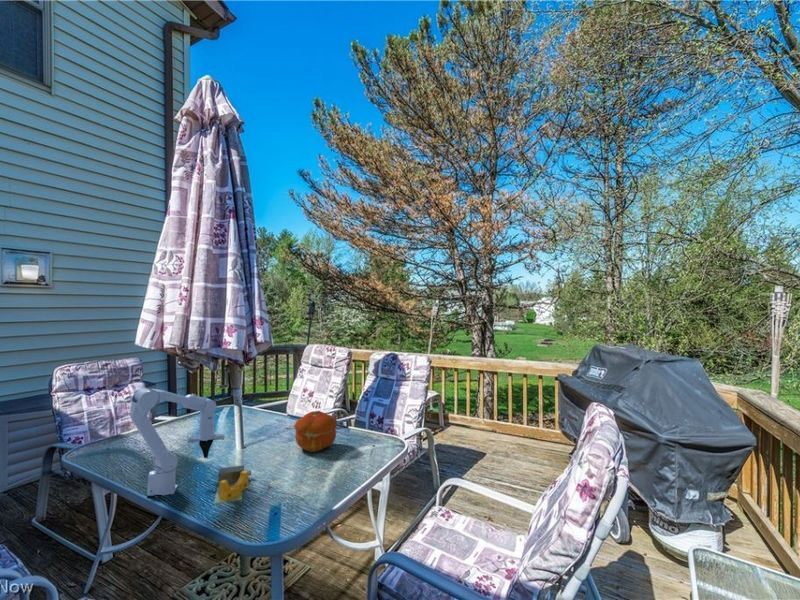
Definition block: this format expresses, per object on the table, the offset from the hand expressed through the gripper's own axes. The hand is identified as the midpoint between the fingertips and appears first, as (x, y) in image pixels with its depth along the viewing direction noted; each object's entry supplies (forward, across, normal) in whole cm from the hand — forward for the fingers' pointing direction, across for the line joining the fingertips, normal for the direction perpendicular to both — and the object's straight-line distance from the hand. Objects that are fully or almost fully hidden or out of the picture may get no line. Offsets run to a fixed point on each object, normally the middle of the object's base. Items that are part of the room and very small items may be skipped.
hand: (205, 457), depth 169 cm
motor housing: (+9, +13, -14) cm, 21 cm away
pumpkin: (+10, +51, +22) cm, 56 cm away
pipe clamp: (+10, +13, -18) cm, 25 cm away
